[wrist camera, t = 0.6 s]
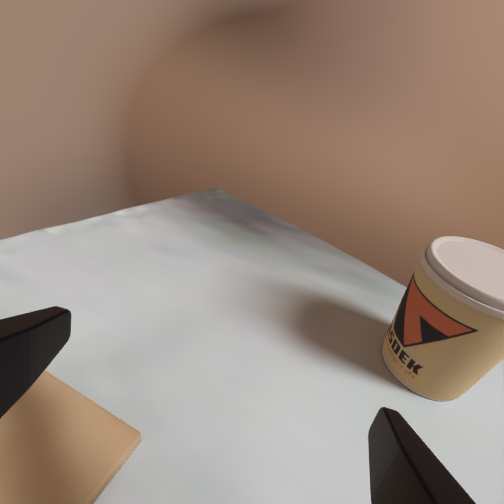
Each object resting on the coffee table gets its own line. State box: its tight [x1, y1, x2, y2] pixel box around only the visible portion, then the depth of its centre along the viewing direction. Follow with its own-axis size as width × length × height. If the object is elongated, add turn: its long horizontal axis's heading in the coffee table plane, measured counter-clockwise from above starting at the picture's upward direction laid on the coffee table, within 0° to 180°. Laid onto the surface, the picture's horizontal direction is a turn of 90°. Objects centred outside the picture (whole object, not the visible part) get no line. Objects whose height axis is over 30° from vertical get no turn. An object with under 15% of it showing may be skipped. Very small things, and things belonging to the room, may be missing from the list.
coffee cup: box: [382, 236, 504, 401], centre depth 28 cm, size 9×9×12 cm
